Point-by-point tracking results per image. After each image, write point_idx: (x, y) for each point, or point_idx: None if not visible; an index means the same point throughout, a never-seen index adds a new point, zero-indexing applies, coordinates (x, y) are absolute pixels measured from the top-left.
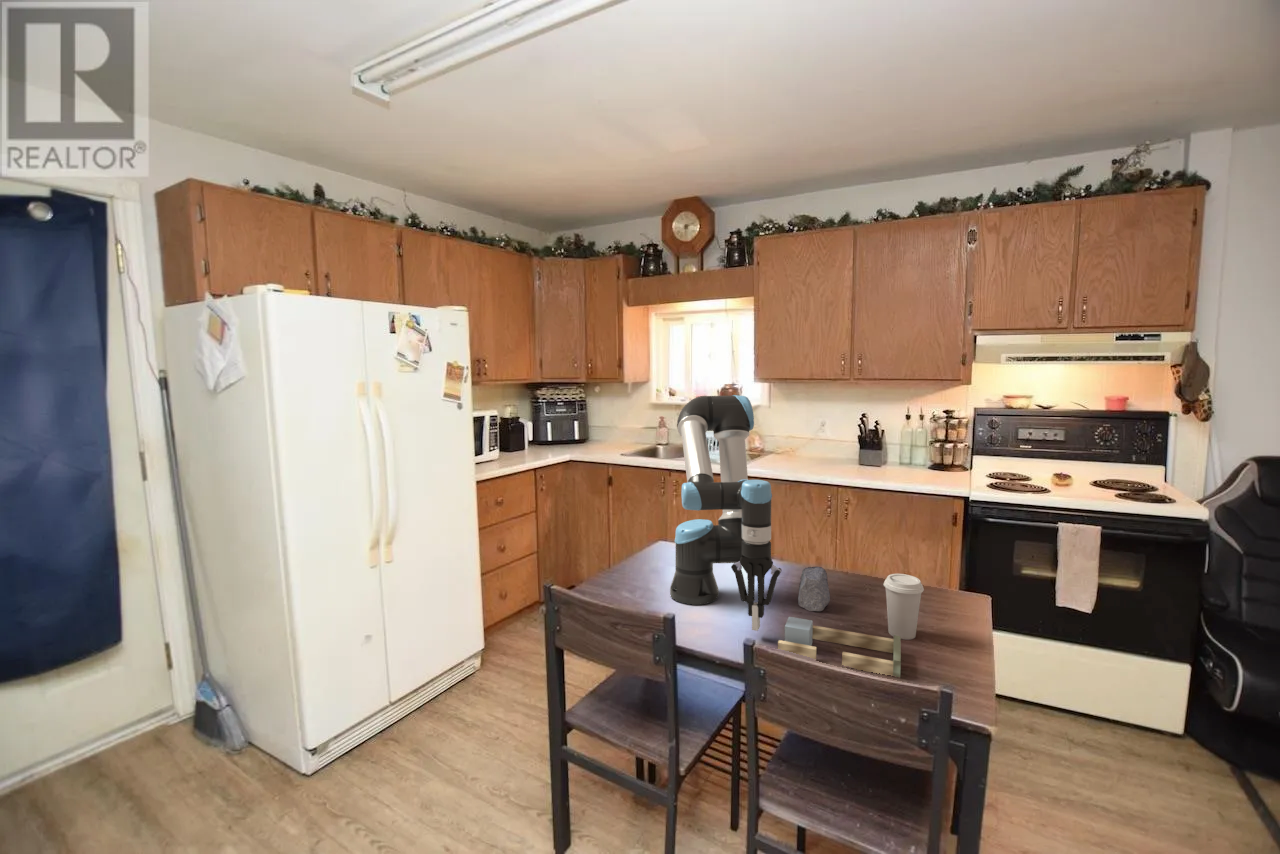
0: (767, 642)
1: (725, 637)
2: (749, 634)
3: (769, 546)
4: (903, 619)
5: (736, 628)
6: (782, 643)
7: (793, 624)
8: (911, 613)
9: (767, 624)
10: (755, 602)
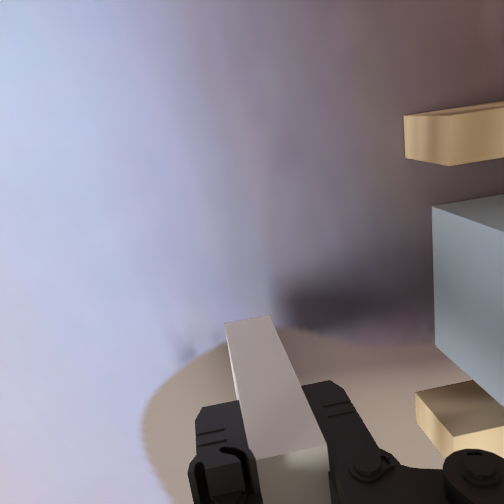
0: (325, 332)
1: (62, 421)
2: (182, 298)
3: None
4: None
5: (56, 266)
6: None
7: None
8: None
9: (236, 68)
10: (270, 467)
